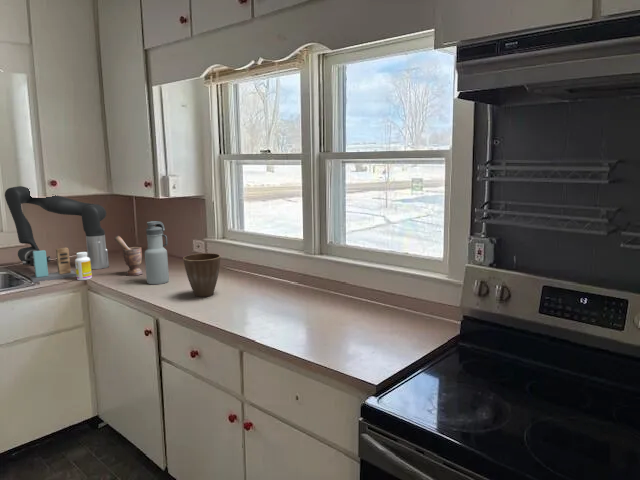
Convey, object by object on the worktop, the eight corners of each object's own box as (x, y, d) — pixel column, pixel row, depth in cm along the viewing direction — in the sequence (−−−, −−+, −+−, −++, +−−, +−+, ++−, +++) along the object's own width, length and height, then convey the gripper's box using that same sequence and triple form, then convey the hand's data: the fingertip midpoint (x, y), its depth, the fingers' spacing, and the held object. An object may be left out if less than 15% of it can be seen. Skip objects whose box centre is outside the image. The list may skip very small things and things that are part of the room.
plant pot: (229, 294, 211) (227, 256, 208) (197, 301, 201) (194, 261, 198) (210, 288, 221) (208, 251, 219) (178, 295, 211) (176, 257, 209)
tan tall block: (69, 271, 255) (66, 247, 253) (71, 272, 252) (68, 248, 250) (58, 272, 252) (55, 248, 250) (59, 274, 249) (57, 249, 247)
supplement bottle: (94, 277, 248) (92, 251, 246) (87, 280, 241) (84, 253, 239) (81, 277, 248) (79, 251, 246) (73, 280, 242) (71, 254, 240)
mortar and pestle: (125, 278, 244) (122, 237, 241) (115, 276, 249) (112, 235, 246) (147, 273, 253) (143, 233, 250) (137, 271, 258) (133, 232, 255)
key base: (72, 272, 259) (72, 270, 259) (77, 276, 251) (76, 273, 251) (30, 278, 248) (29, 275, 248) (33, 282, 240) (32, 279, 240)
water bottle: (156, 279, 241) (152, 220, 237) (174, 280, 238) (169, 220, 233) (142, 284, 232) (137, 222, 227) (160, 285, 228) (155, 223, 224)
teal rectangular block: (47, 274, 249) (44, 250, 247) (48, 275, 246) (45, 251, 244) (35, 275, 246) (32, 251, 244) (36, 277, 243) (33, 252, 241)
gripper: (18, 252, 257) (23, 257, 244) (47, 249, 265) (53, 253, 251) (20, 267, 259) (24, 272, 245) (49, 263, 266) (55, 268, 253)
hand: (39, 263), depth 248 cm, fingers closed
